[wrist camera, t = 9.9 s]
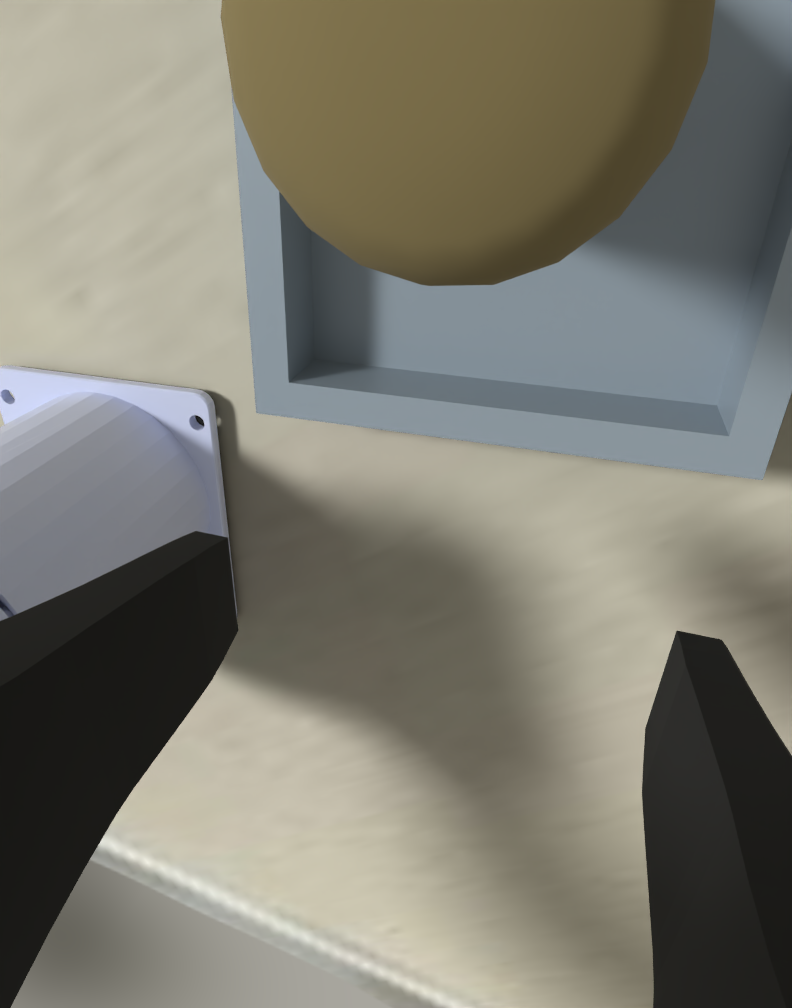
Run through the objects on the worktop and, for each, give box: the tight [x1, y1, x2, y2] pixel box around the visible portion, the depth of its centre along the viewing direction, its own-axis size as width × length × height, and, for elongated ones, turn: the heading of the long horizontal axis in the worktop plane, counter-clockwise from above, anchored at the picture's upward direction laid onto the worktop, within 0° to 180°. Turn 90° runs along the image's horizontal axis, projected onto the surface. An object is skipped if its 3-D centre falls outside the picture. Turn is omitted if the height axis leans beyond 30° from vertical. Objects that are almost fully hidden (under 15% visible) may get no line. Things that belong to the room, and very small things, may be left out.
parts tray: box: [231, 0, 792, 480], centre depth 16 cm, size 13×13×2 cm
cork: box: [221, 0, 715, 286], centre depth 11 cm, size 6×6×11 cm
